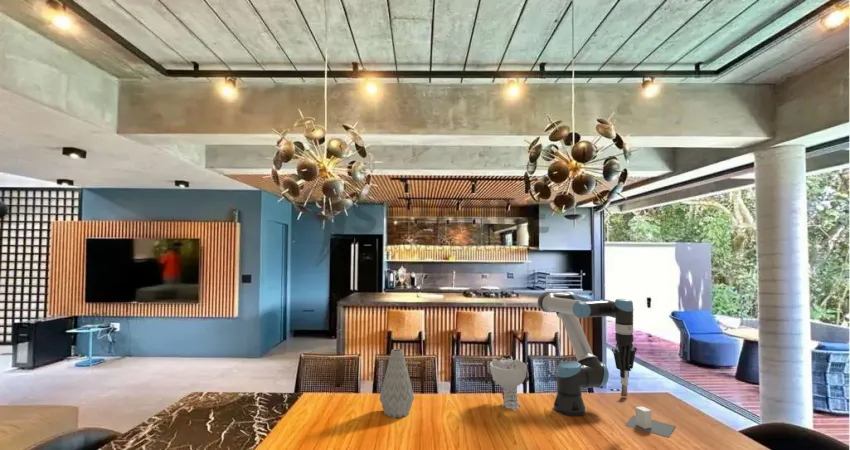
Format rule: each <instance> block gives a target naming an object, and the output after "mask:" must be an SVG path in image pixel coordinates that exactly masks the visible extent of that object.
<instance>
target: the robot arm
mask: <svg viewBox="0 0 850 450" xmlns="http://www.w3.org/2000/svg"><path fill="white" fill-rule="evenodd" d="M537 307H538V308H539V309H540V311H542V312H544V313H545V312H546V313H555V314H556V316H557V318H559V319H560V320H561V322H562V324H563V327H564V330H565V332H566V335H567V337H568V340H569V342H570V345H571V347H572V351H573V352H574V355H575V357H576V361H575V360H565V361H562V362H560V363H558V365H557V368H556V390H557V391H556V397H555V399H554V401H553V410H554V411H555V412H556V413H558V414H560V415H564V416H569V417H580V416H584V415H585V414H586V405H585V403H584V400H583V399H584V398H583V397H582V389H591V388H600V387H604V386H605V385H606V384H607V383H608V382H609V378H610V377H609V376H610V373H609V369H608V366H607V365H606V364H605V363H604V362H603V361H600V360H599V358H598V356H596V355H594V353H593V351H592V349H591V346H590V343H589V342H588V339H587V336H586V334H585V331H584V329H583V327H582V324H581V323H580V320H579V319H580V318H581V319H586V318H587V319H588V318H600V317H601V318H602V317H603V318H604V317H605V318H606V317H608V318H609V317H610V318H615V320H614V321H615V322H614V323H615V325H614V327H615V328H614V329H615V336H614V338H615V342H616V343H615V347H614V348H611V352H612V354H613V358H614V363H615V368H616V369H617V370H619V376H620V384H621V385H622V384H623V385H625V386H627V387H628V386H629V377H630V372H631V371H632V369H633V368H634V362H635V356H636V352H637V350H638V348H637V347H635V346H633V343H634V334H633V333H634V302H633V301H632V300H631V299H627V298H616V299H615V301H614V300H609V299H599V300H594V301H593V300H591V301H586V300H579V299H578V297H577V295H576V294H575V293H574V292H572V291H569V290H567V291H566V290H561V291H545V292H543V293H541V294H540V295H539V296H538V298H537Z"/></svg>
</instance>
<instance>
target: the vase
mask: <svg viewBox="0 0 850 450" xmlns="http://www.w3.org/2000/svg"><path fill="white" fill-rule="evenodd" d="M414 400H415V395H414V390H413V386H412V383H411V378H410V374H409V371H408V367H407V361H406V359H405V354H404V350H403V349H401V348H400V349H399V348H395V349H394V348H393V349H391V350H390V355H389V359H388V364H387V368H386V372H385V374H384V380H383V384H382V388H381V391H380V393H379V401H380V403H381V407H382V410H383V412H384V415H385V416H387V417H389V418H394V419H395V418H400V419H401V418H403V417H406V416H407V415H409V414H410V411H411V409H412V405H413V404H412V403H413V401H414Z"/></svg>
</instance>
